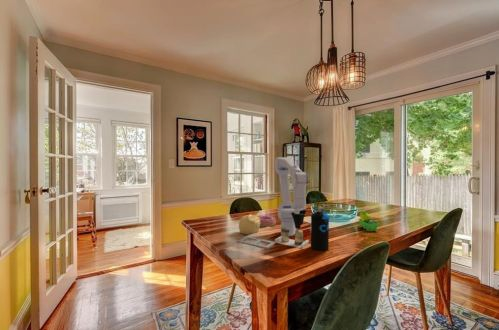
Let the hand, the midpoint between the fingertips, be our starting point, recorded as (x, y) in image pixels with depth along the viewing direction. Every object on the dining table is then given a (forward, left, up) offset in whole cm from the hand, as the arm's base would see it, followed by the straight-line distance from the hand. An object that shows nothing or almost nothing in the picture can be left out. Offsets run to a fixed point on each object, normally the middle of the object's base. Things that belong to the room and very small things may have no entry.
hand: (299, 226), depth 113 cm
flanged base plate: (0, -4, -10) cm, 10 cm away
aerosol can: (0, +10, -10) cm, 14 cm away
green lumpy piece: (-55, +24, -10) cm, 60 cm away
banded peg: (0, 0, -8) cm, 8 cm away
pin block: (+9, -18, -10) cm, 22 cm away
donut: (-28, -33, -10) cm, 44 cm away
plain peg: (0, -7, -8) cm, 11 cm away
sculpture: (-6, -31, -10) cm, 33 cm away
